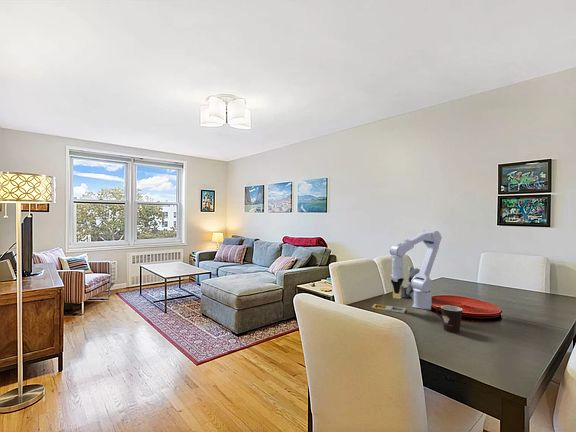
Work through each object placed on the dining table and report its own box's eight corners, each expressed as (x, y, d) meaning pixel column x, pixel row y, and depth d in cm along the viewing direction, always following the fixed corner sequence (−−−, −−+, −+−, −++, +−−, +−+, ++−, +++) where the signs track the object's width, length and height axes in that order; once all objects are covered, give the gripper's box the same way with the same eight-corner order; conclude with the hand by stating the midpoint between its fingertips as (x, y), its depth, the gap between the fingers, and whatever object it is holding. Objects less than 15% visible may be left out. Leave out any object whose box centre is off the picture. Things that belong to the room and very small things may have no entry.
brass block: (401, 297, 168) (401, 284, 168) (400, 298, 164) (400, 285, 164) (394, 296, 170) (394, 283, 170) (392, 297, 166) (392, 285, 166)
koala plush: (395, 296, 196) (395, 265, 196) (415, 293, 203) (416, 264, 203) (417, 303, 180) (417, 270, 180) (438, 300, 188) (438, 268, 188)
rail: (405, 309, 168) (405, 308, 168) (404, 313, 162) (404, 311, 162) (374, 305, 176) (374, 303, 176) (371, 308, 170) (371, 306, 170)
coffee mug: (466, 333, 134) (466, 311, 134) (446, 333, 134) (446, 311, 134) (452, 324, 145) (452, 303, 145) (434, 324, 146) (434, 303, 146)
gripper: (392, 264, 175) (392, 288, 175) (387, 268, 162) (387, 294, 162) (405, 266, 172) (405, 290, 172) (401, 270, 159) (401, 296, 159)
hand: (397, 292), depth 167 cm, fingers closed on brass block, 4 cm apart
